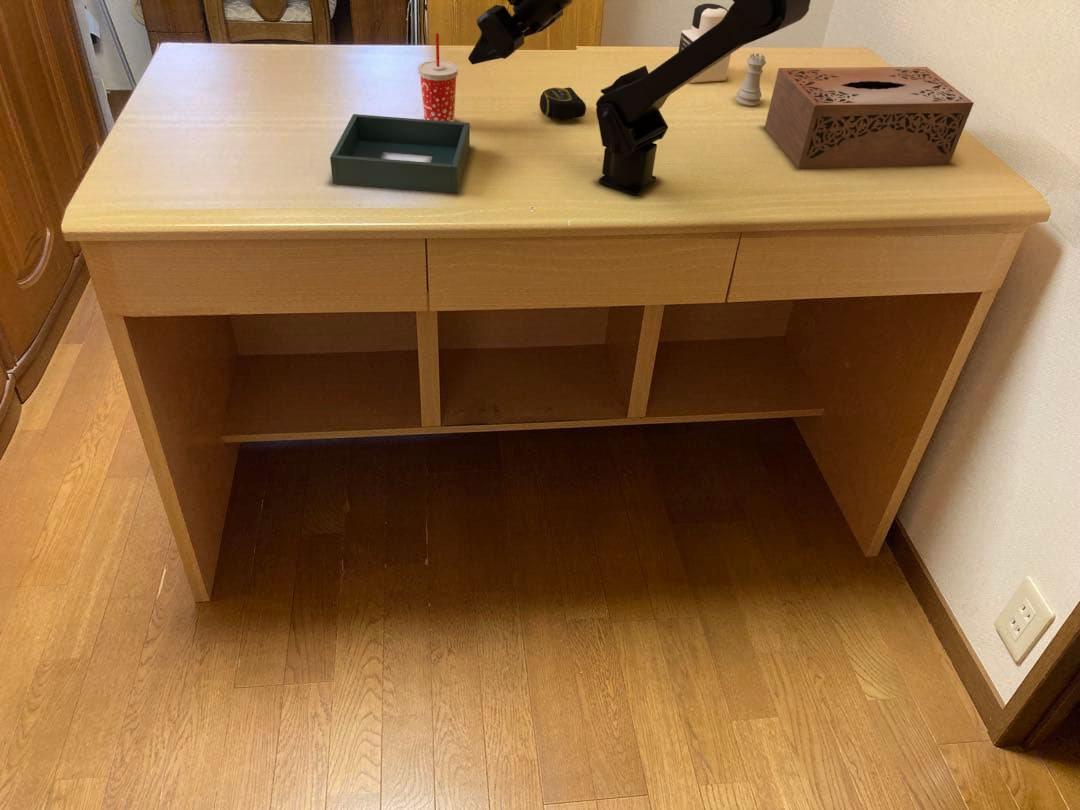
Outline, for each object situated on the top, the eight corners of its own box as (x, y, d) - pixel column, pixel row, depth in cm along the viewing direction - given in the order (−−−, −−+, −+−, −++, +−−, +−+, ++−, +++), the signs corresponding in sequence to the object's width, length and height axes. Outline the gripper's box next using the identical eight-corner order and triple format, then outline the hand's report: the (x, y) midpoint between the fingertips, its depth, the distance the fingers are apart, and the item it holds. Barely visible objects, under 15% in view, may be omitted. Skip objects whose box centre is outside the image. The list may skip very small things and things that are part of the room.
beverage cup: (420, 115, 140) (417, 26, 131) (458, 116, 141) (457, 27, 132) (419, 131, 136) (415, 40, 126) (458, 132, 136) (457, 41, 127)
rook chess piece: (765, 105, 151) (776, 59, 146) (743, 108, 150) (753, 61, 144) (751, 95, 154) (761, 50, 149) (730, 98, 153) (739, 52, 147)
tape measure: (586, 123, 142) (588, 100, 139) (546, 126, 140) (548, 103, 137) (572, 106, 146) (574, 84, 144) (533, 109, 145) (535, 86, 142)
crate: (469, 147, 133) (469, 122, 130) (457, 193, 122) (457, 167, 119) (355, 139, 133) (353, 113, 130) (332, 183, 122) (329, 157, 119)
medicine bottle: (675, 68, 162) (685, 1, 154) (709, 66, 164) (721, -1, 156) (690, 83, 157) (702, 14, 149) (726, 81, 159) (739, 12, 151)
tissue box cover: (797, 168, 133) (814, 105, 127) (764, 128, 144) (778, 68, 137) (949, 164, 137) (973, 102, 131) (906, 125, 148) (926, 66, 141)
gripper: (548, -83, 122) (477, -13, 132) (491, -54, 109) (417, 22, 119) (595, -14, 125) (523, 49, 135) (545, 23, 112) (469, 90, 122)
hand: (484, 51), depth 128 cm, fingers open, 9 cm apart
